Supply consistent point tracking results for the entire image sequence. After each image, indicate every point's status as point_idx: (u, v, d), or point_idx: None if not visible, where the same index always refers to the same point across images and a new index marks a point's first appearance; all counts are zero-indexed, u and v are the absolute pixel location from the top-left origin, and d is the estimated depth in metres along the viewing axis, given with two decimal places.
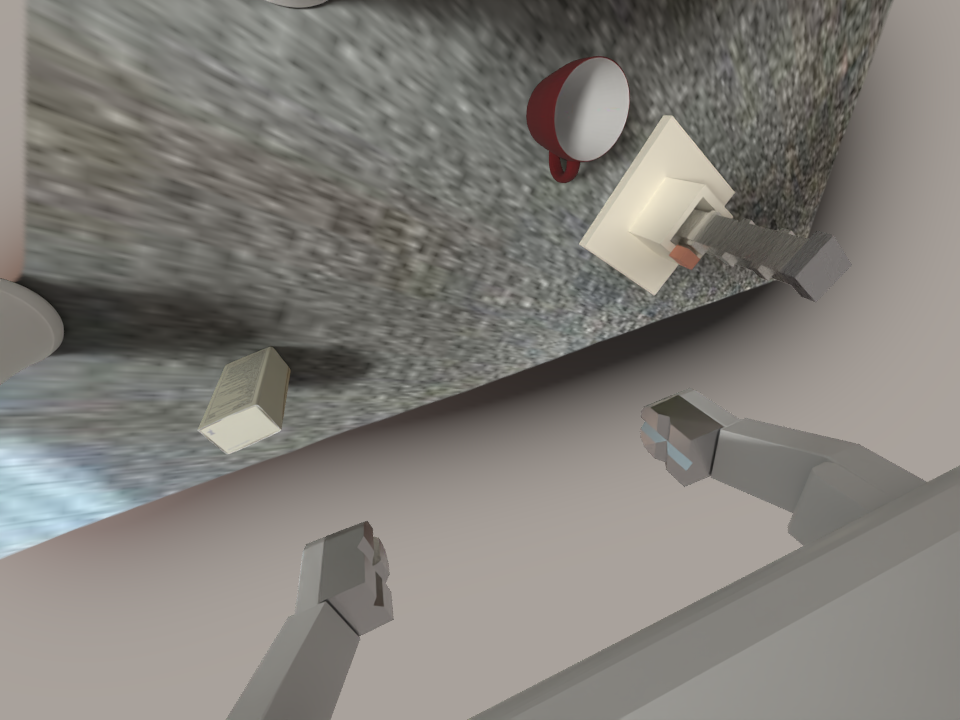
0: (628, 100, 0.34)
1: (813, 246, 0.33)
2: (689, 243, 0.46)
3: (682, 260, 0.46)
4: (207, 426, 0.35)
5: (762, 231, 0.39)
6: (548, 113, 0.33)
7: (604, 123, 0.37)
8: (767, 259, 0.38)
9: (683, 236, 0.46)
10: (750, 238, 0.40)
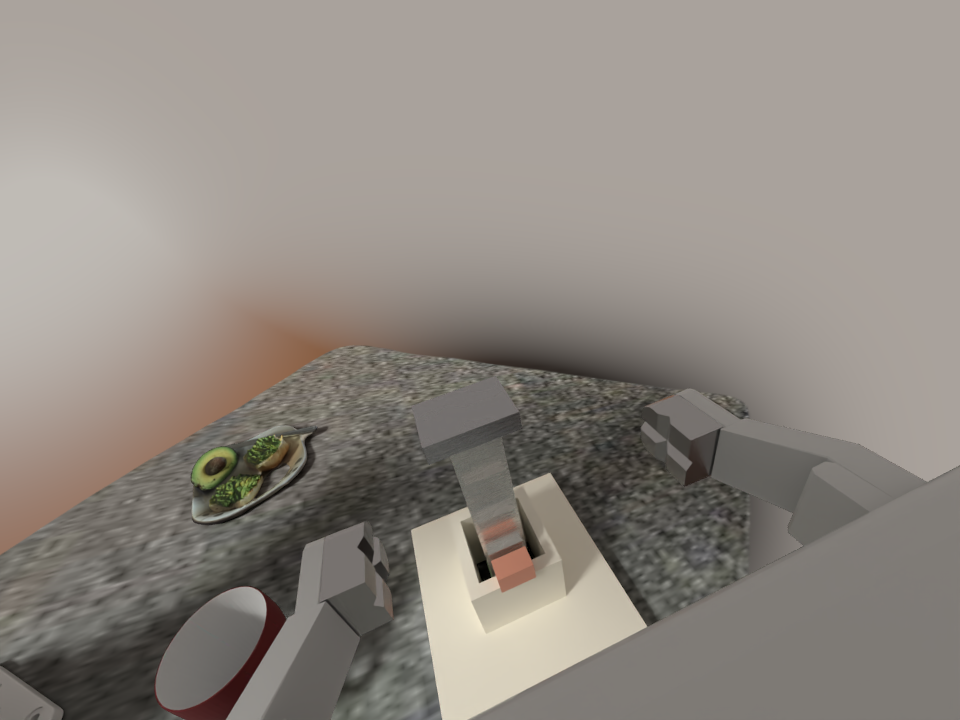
0: (258, 590, 0.31)
1: None
2: (489, 556, 0.29)
3: (501, 576, 0.28)
4: None
5: None
6: None
7: None
8: None
9: None
10: None
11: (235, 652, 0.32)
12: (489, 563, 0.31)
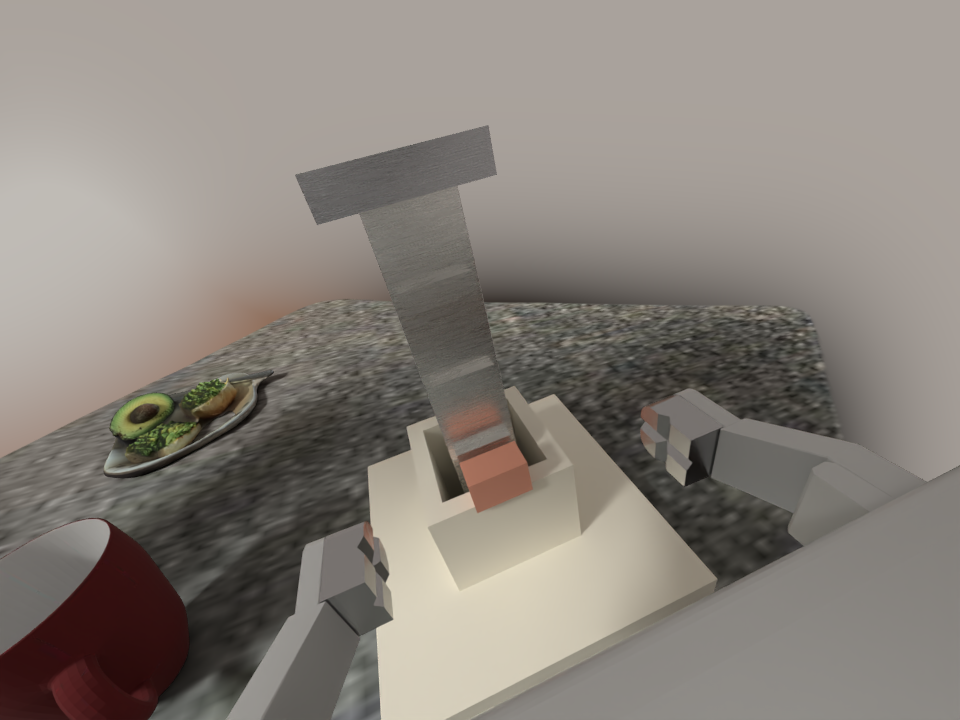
0: None
1: None
2: (458, 460, 0.19)
3: (475, 481, 0.17)
4: None
5: None
6: None
7: None
8: None
9: (456, 471, 0.20)
10: None
11: None
12: (461, 477, 0.20)
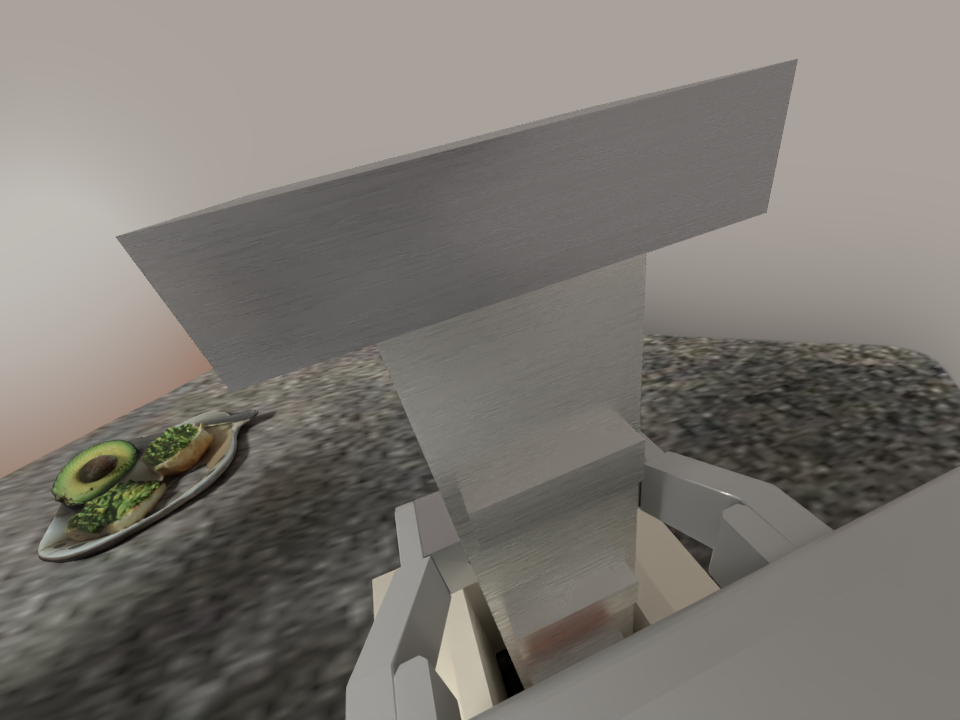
0: None
1: None
2: None
3: None
4: None
5: None
6: None
7: None
8: None
9: None
10: None
11: None
12: None
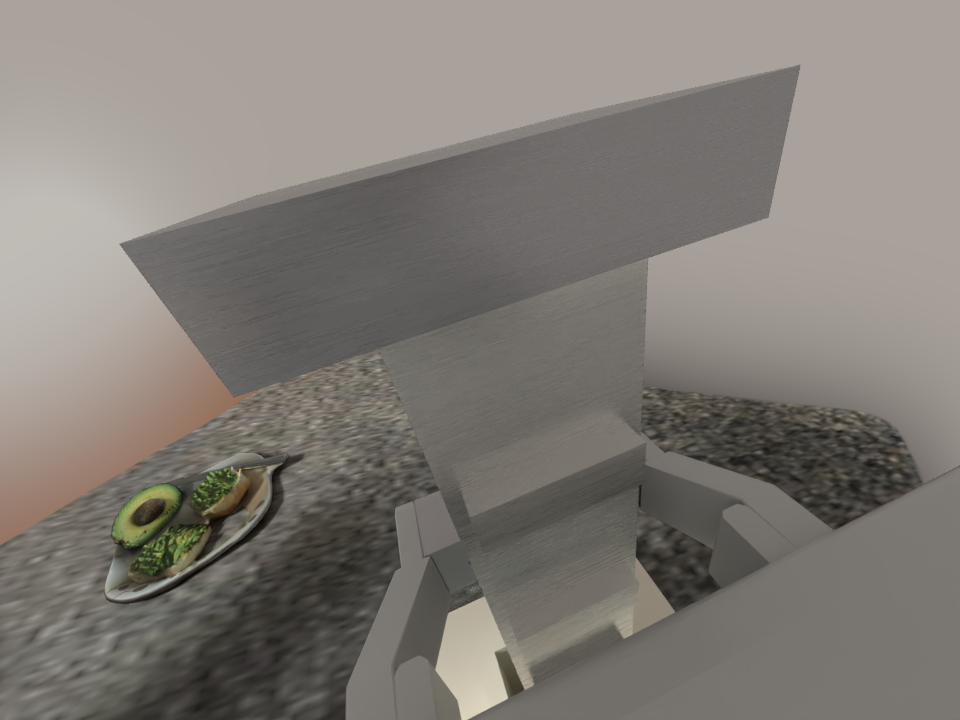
0: None
1: None
2: None
3: None
4: None
5: None
6: None
7: None
8: None
9: None
10: None
11: None
12: None
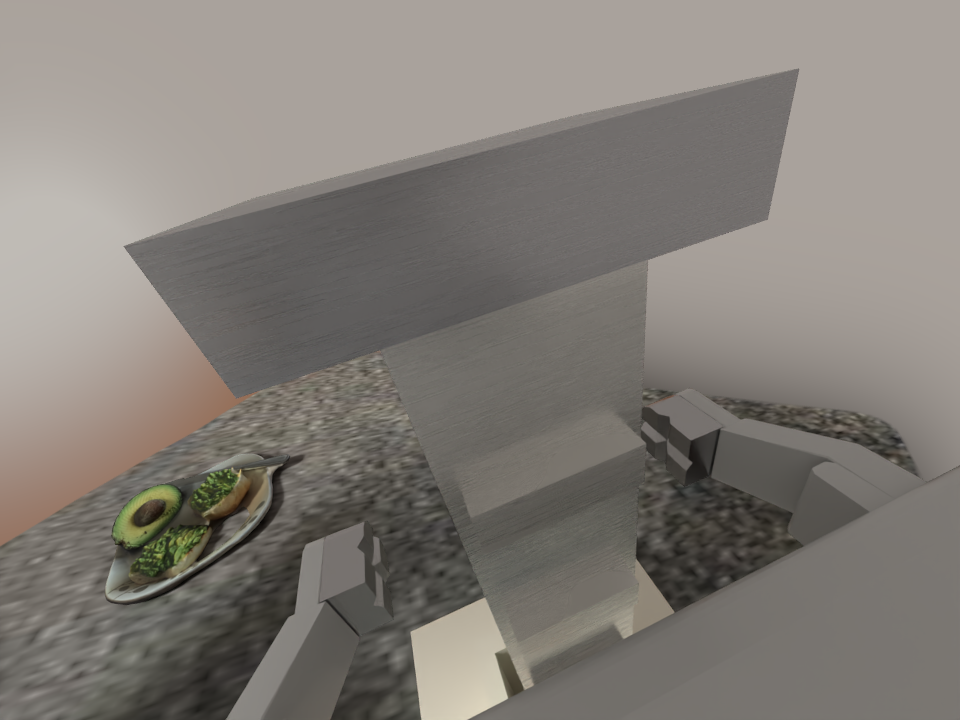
0: None
1: None
2: None
3: None
4: None
5: None
6: None
7: None
8: None
9: None
10: None
11: None
12: None
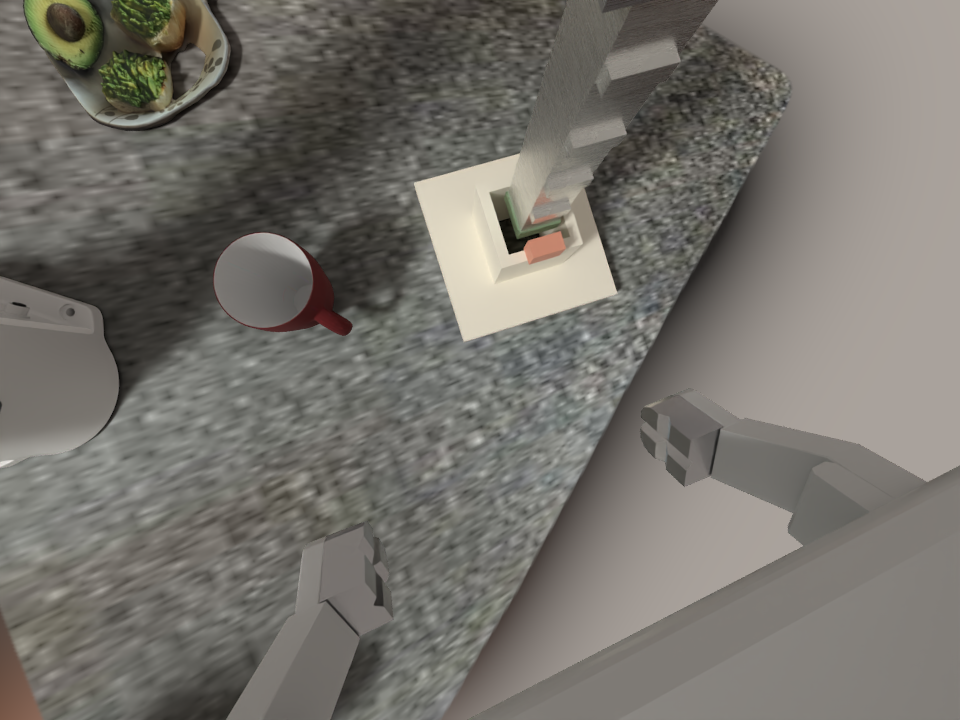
0: (286, 238, 0.30)
1: None
2: (548, 192, 0.24)
3: (537, 255, 0.31)
4: None
5: (560, 43, 0.16)
6: None
7: None
8: (598, 44, 0.14)
9: (537, 195, 0.25)
10: (562, 76, 0.17)
11: (267, 280, 0.35)
12: (538, 199, 0.25)
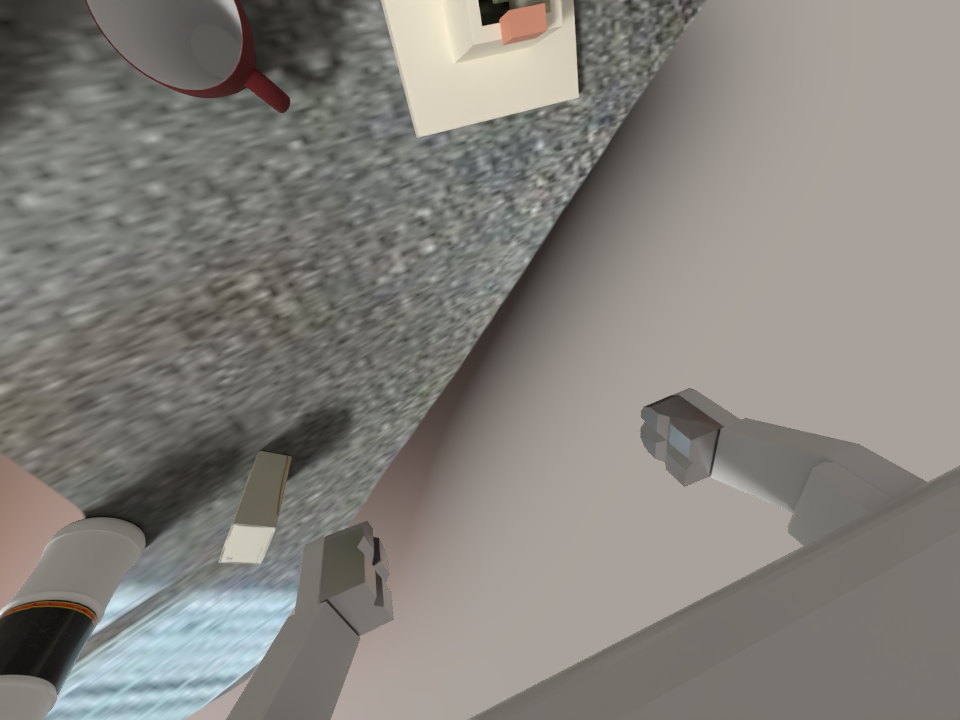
0: None
1: None
2: None
3: (516, 34, 0.28)
4: (221, 556, 0.40)
5: None
6: None
7: None
8: None
9: None
10: None
11: (150, 6, 0.25)
12: None
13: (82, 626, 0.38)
